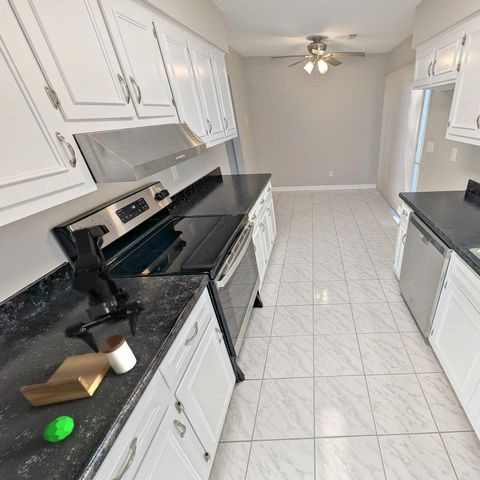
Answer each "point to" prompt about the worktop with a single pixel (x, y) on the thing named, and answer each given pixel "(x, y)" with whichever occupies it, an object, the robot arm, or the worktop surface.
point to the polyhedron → (58, 429)
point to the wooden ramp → (70, 380)
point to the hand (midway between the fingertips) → (116, 344)
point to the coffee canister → (118, 353)
